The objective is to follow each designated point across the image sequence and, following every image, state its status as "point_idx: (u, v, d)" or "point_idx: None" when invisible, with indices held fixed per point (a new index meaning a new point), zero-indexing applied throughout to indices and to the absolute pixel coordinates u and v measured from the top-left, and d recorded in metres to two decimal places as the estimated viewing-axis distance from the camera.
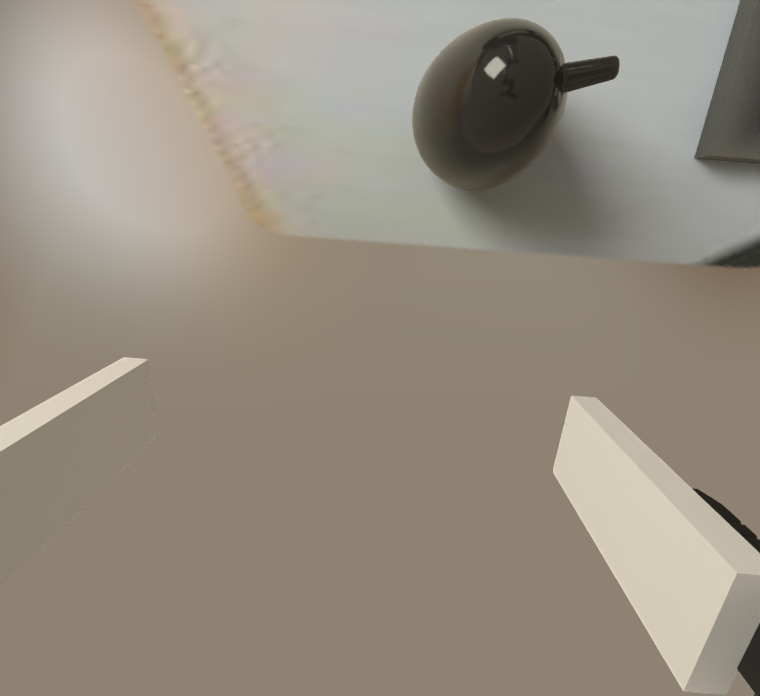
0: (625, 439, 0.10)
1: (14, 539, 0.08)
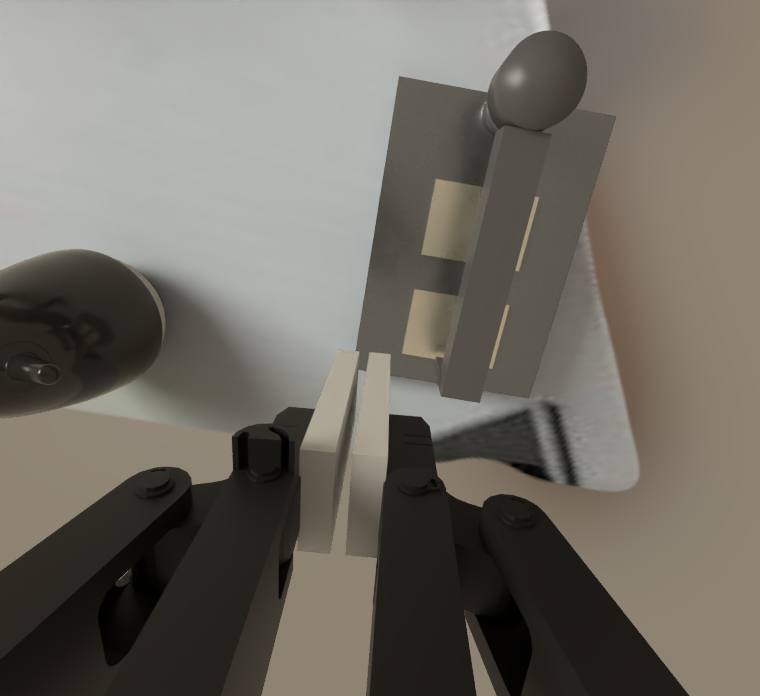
0: (376, 380, 0.13)
1: (338, 491, 0.11)
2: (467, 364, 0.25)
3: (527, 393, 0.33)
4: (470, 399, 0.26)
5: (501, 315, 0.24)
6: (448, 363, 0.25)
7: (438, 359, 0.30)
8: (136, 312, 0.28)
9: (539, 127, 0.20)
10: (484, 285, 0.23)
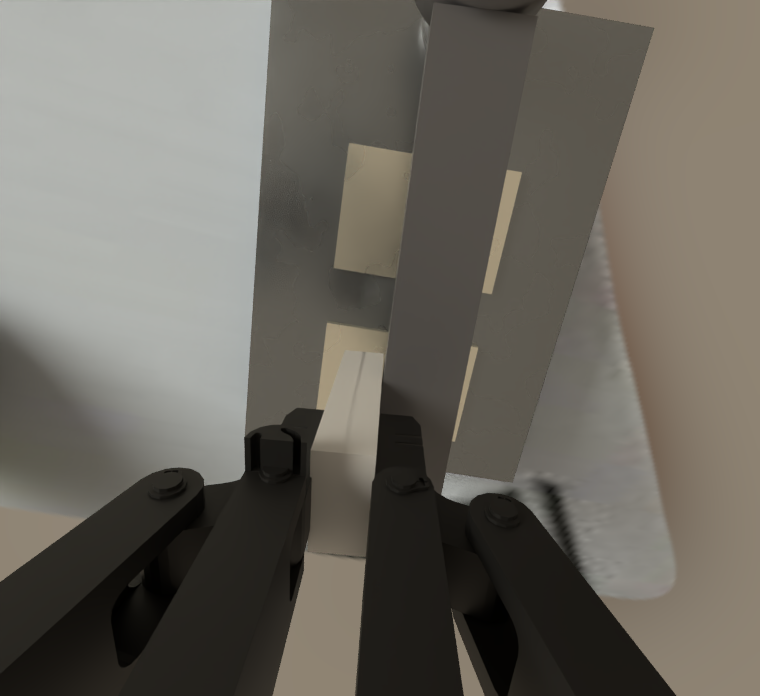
0: (368, 379, 0.13)
1: None
2: None
3: (510, 476, 0.22)
4: None
5: (459, 390, 0.13)
6: None
7: None
8: None
9: None
10: (422, 336, 0.12)
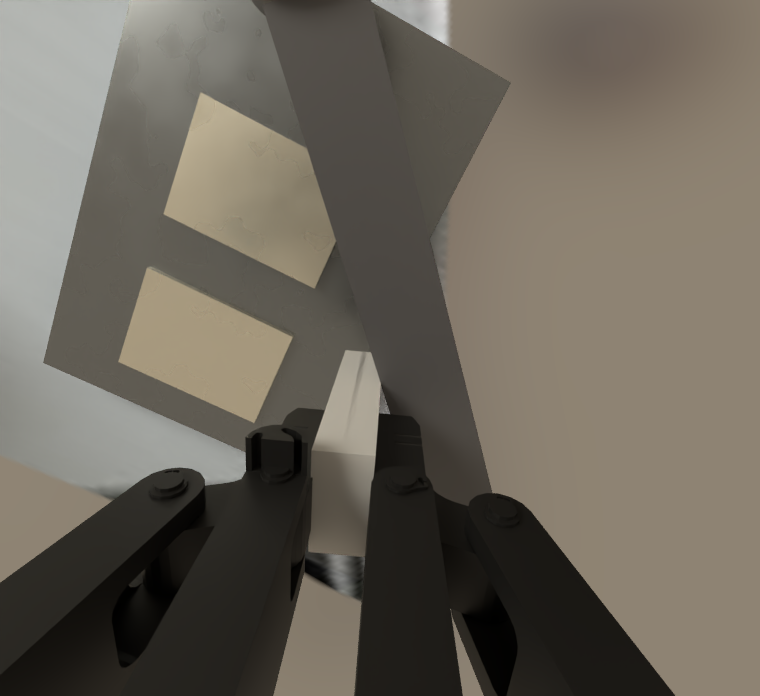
0: (368, 379, 0.13)
1: None
2: (440, 458, 0.13)
3: None
4: None
5: (454, 355, 0.12)
6: None
7: None
8: None
9: None
10: (396, 318, 0.12)
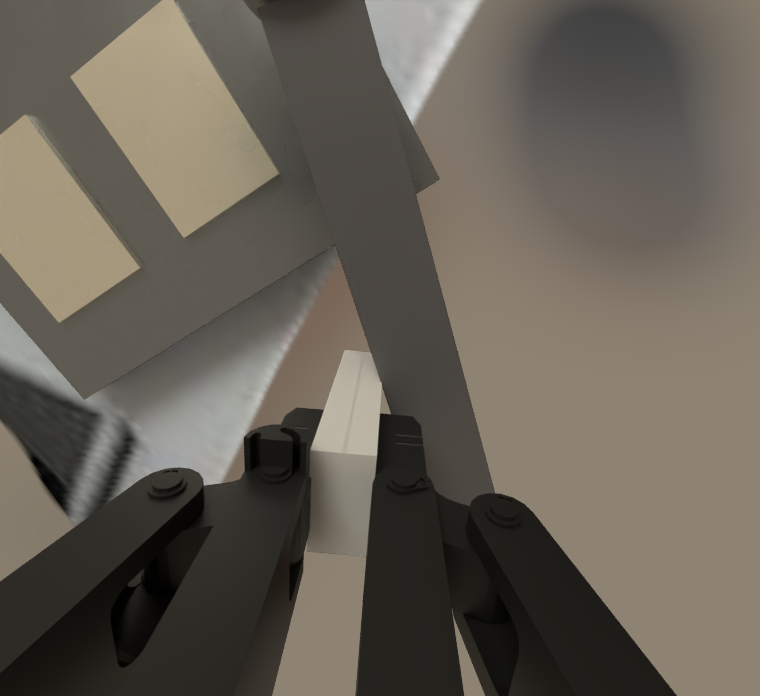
0: (369, 379, 0.13)
1: None
2: (442, 458, 0.13)
3: (86, 393, 0.21)
4: None
5: (454, 354, 0.12)
6: None
7: None
8: None
9: None
10: (395, 318, 0.12)
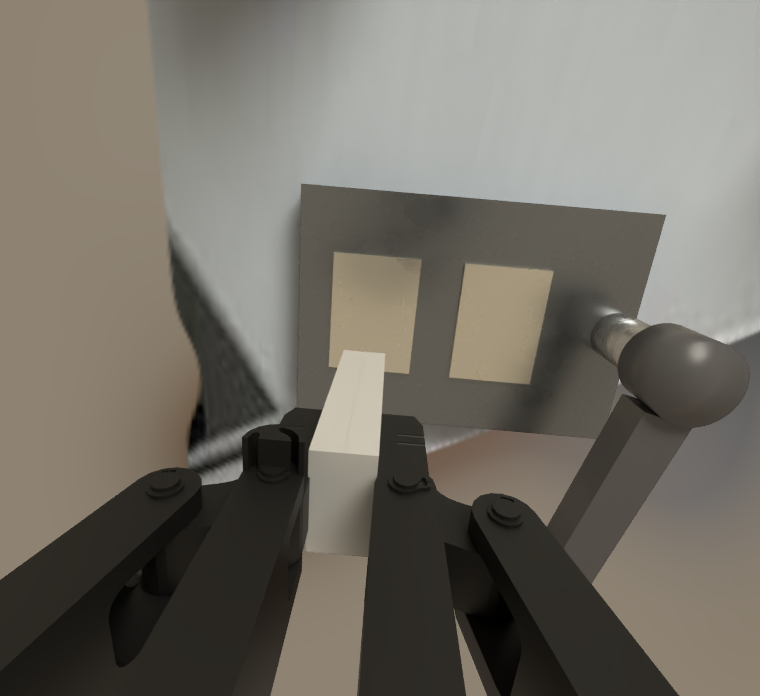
0: (370, 379, 0.13)
1: None
2: None
3: None
4: None
5: (593, 576, 0.22)
6: None
7: None
8: None
9: (683, 426, 0.19)
10: (583, 548, 0.22)
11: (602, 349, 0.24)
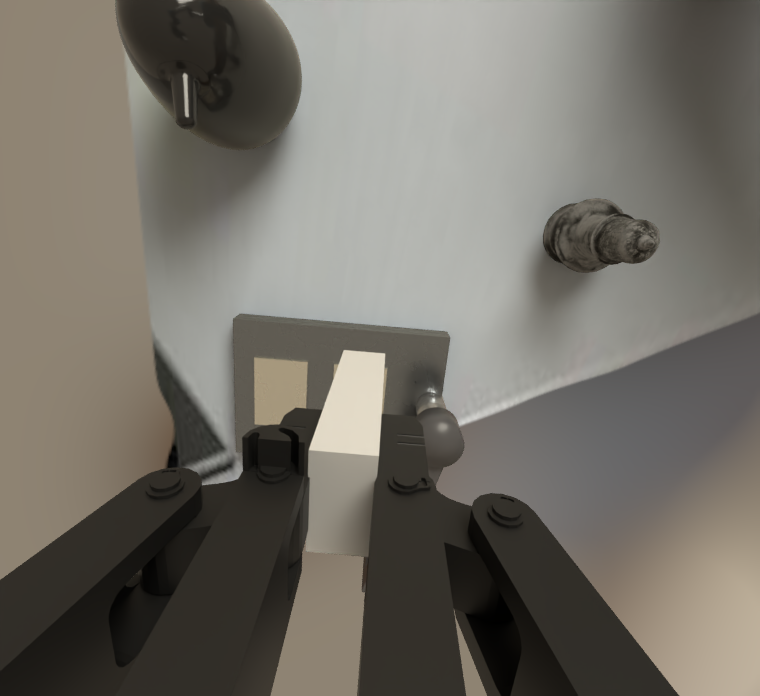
0: (370, 379, 0.13)
1: None
2: None
3: (239, 450, 0.43)
4: None
5: None
6: None
7: None
8: (250, 139, 0.30)
9: (435, 467, 0.34)
10: None
11: None
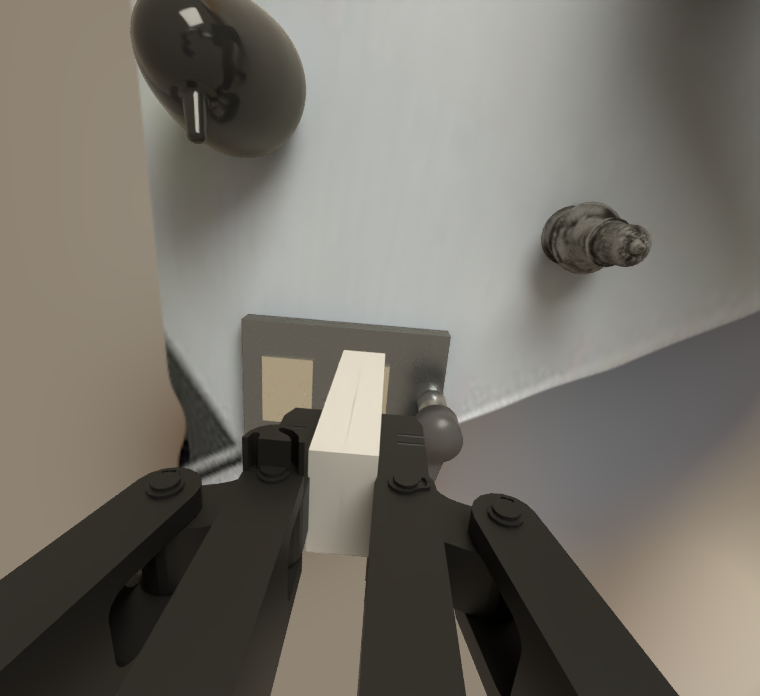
0: (370, 379, 0.13)
1: None
2: None
3: None
4: None
5: None
6: None
7: None
8: (257, 149, 0.32)
9: (435, 461, 0.36)
10: None
11: None
